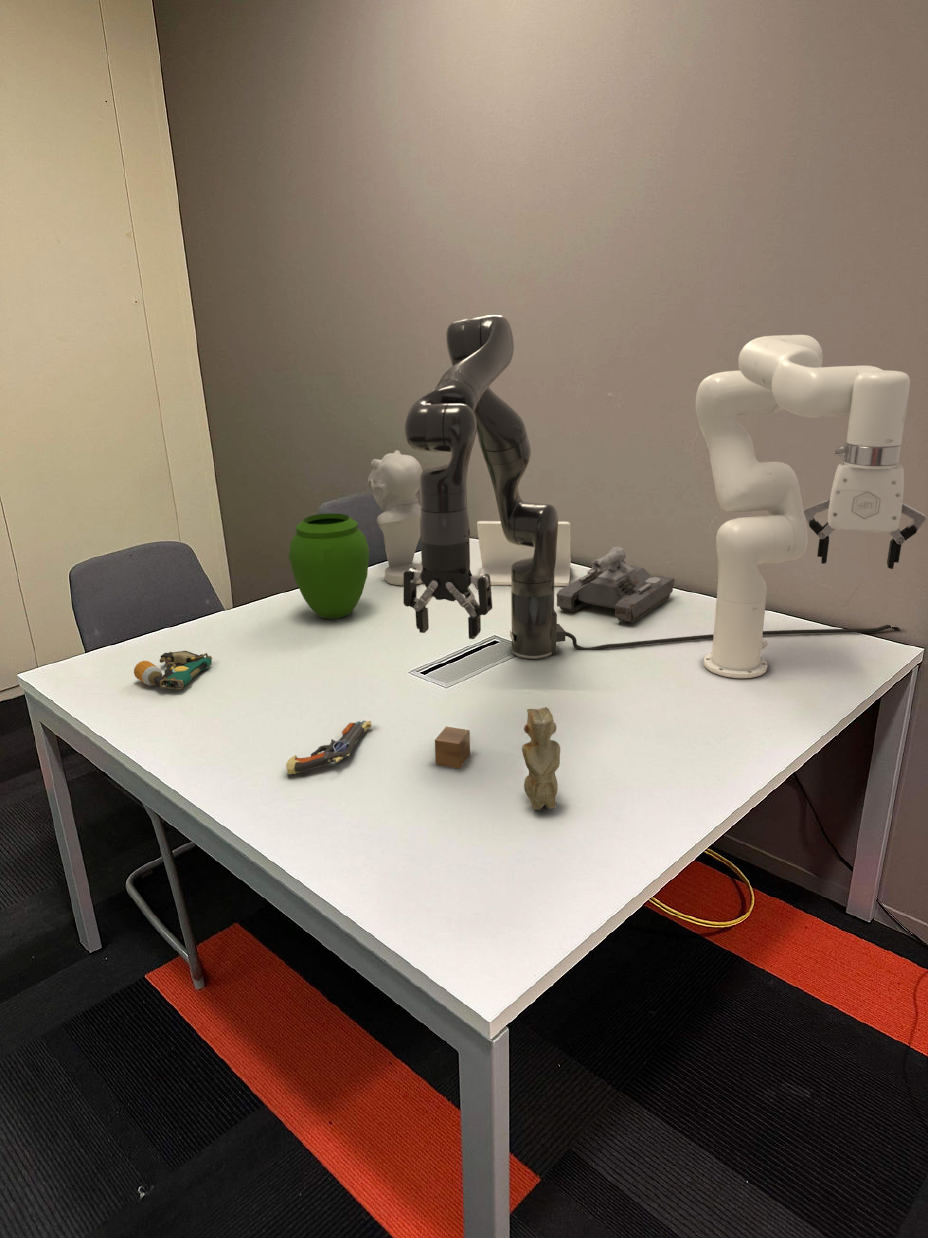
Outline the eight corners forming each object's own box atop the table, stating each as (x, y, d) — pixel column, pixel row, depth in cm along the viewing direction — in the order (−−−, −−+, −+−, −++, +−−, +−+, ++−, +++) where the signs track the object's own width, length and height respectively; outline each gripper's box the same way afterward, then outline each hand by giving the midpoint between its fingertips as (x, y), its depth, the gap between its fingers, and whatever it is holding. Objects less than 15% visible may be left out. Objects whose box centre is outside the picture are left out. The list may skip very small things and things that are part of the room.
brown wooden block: (447, 750, 148) (446, 726, 146) (470, 754, 146) (469, 730, 145) (435, 764, 144) (434, 739, 142) (459, 769, 142) (458, 743, 140)
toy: (603, 584, 229) (605, 530, 224) (673, 597, 218) (677, 540, 213) (555, 612, 210) (556, 553, 205) (630, 627, 199) (633, 566, 194)
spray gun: (177, 659, 191) (231, 671, 185) (120, 684, 176) (176, 698, 171) (176, 641, 190) (230, 653, 184) (118, 665, 175) (174, 678, 169)
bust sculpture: (408, 559, 256) (402, 442, 244) (444, 580, 236) (440, 453, 224) (358, 568, 250) (349, 447, 237) (391, 590, 230) (383, 460, 217)
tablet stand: (569, 585, 229) (570, 524, 223) (476, 584, 232) (475, 523, 226) (570, 566, 246) (571, 508, 240) (484, 564, 249) (483, 507, 243)
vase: (389, 608, 216) (383, 514, 208) (339, 633, 201) (330, 533, 192) (330, 596, 226) (322, 506, 218) (278, 619, 211) (267, 523, 202)
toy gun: (281, 764, 140) (338, 761, 138) (320, 718, 158) (372, 715, 156) (284, 779, 141) (341, 777, 139) (323, 732, 159) (374, 729, 156)
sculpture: (556, 787, 135) (557, 702, 130) (563, 813, 129) (564, 724, 123) (519, 789, 135) (519, 704, 130) (524, 815, 129) (524, 726, 123)
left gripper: (392, 539, 130) (398, 637, 136) (479, 546, 125) (482, 648, 131) (413, 527, 137) (417, 621, 143) (496, 533, 132) (498, 631, 138)
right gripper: (809, 457, 129) (797, 566, 135) (938, 462, 123) (919, 575, 129) (810, 449, 135) (798, 553, 142) (933, 453, 129) (915, 561, 135)
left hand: (448, 634), depth 137 cm, fingers open, 8 cm apart
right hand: (856, 563), depth 135 cm, fingers open, 9 cm apart
